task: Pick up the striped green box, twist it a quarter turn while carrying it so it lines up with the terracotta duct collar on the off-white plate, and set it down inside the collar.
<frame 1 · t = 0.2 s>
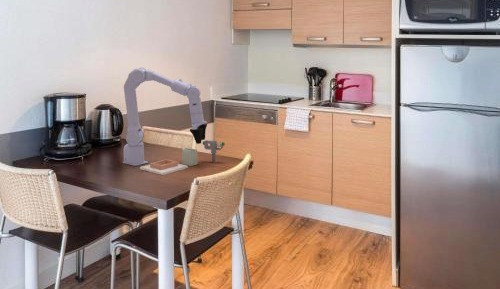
hand: (200, 141, 210), 10 cm above the table, tool pointing down, fingers open, 7 cm apart
duct plate: (164, 168, 203), on the table
striped green box: (189, 164, 211), on the table
mechanical component: (213, 162, 215), on the table
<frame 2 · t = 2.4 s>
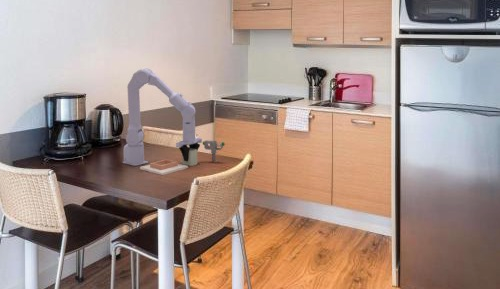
hand: (189, 160, 210), 2 cm above the table, tool pointing down, fingers closed on striped green box, 4 cm apart
striped green box: (189, 164, 211), on the table, touching gripper
everything else where it was.
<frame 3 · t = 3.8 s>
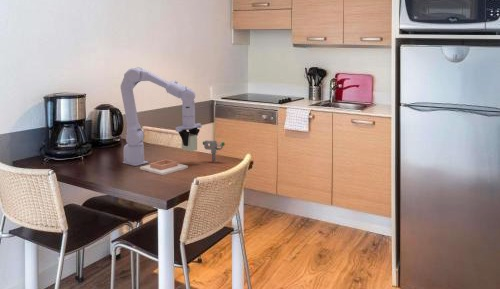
hand: (189, 145, 209), 9 cm above the table, tool pointing down, fingers closed on striped green box, 4 cm apart
striped green box: (189, 149, 209), point 7 cm above the table, touching gripper
everything else where it was.
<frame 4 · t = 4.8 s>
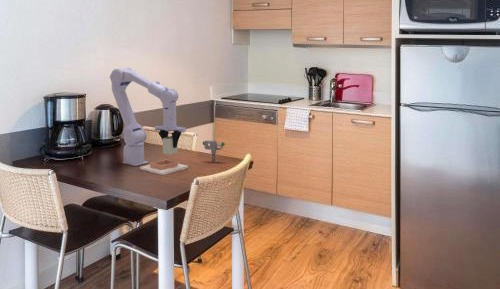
hand: (170, 147, 203), 9 cm above the table, tool pointing down, fingers closed on striped green box, 4 cm apart
striped green box: (170, 152, 203), point 7 cm above the table, touching gripper
everything else where it was.
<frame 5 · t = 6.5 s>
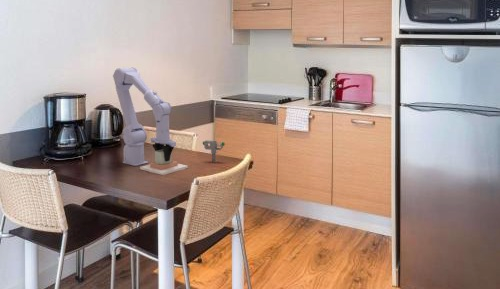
hand: (163, 160, 202), 4 cm above the table, tool pointing down, fingers closed on striped green box, 4 cm apart
striped green box: (163, 165, 202), point 1 cm above the table, touching gripper
everything else where it was.
when the fingers open (4 cm above the table, at t = 7.4 s): striped green box stays where it is, resting on duct plate.
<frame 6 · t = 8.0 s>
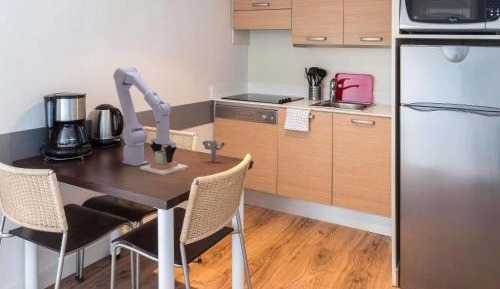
hand: (163, 160, 202), 4 cm above the table, tool pointing down, fingers open, 7 cm apart
striped green box: (163, 166, 202), point 1 cm above the table, touching duct plate
everything else where it was.
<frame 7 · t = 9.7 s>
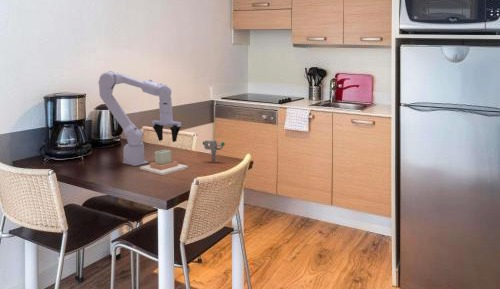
hand: (167, 140, 211), 10 cm above the table, tool pointing down, fingers open, 7 cm apart
nothing on the table moved.
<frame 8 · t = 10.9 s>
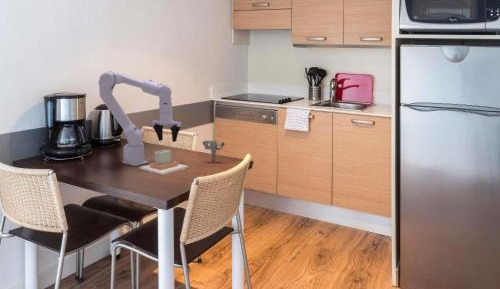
hand: (167, 140, 211), 10 cm above the table, tool pointing down, fingers open, 7 cm apart
nothing on the table moved.
at the end: striped green box 0.3 cm off-centre on the duct plate, point 1.0 cm above the duct plate's base; striped green box tilted 0°; the gripper is holding nothing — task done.
